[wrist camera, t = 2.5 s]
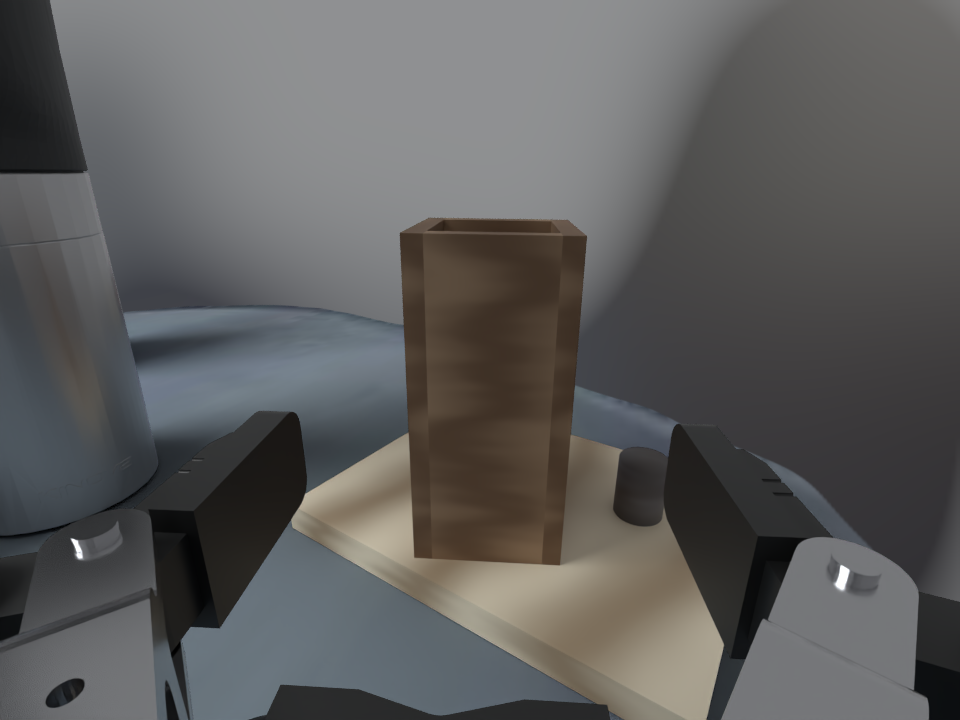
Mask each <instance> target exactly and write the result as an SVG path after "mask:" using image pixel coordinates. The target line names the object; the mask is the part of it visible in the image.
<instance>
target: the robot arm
mask: <svg viewBox="0 0 960 720" xmlns="http://www.w3.org/2000/svg"><path fill="white" fill-rule="evenodd" d="M87 170H88V169H87V165H86V161H85V157H84V153H83V149H82V146H81V141H80V138H79V133H78V128H77V124H76V120H75V115H74V111H73V106H72V102H71V98H70V93H69V89H68V85H67V80H66V76H65V72H64V67H63V63H62V59H61V55H60V50H59V45H58V40H57V35H56V30H55V25H54V20H53V15H52V10H51V5H50V0H0V535H16V534H23V533H31V532H36V531H41V530H45V529H49V528H54V527H58V526H61V525H64V524H67V523H70V522H74V521H76V522H74V523H71V524H70V525H68V526H66V527H64V528H62V529H61V530H59V531H58V532H56V533H55V534H54V535H52V536H51V537H50V538H49V539H48V540H47V541H46V542H45V543H44V544H43V545H42V546H41V548H40V549H39V551H38V552H35V553H29V554H22V555H16V556H10V557H4V558H0V720H194V717H193V710H192V702H191V694H190V687H189V679H188V671H187V664H186V656H185V650H184V647H183V643H182V638H183V636H184V635H185V634H186V632H187V631H188V630H189V628H190V627H205V628H220V627H221V626H222V624H223V622H224V621H225V619H226V618H227V616H228V615H229V613H230V612H231V610H232V609H233V607H234V606H235V604H236V603H237V601H238V600H239V598H240V597H241V595H242V594H243V592H244V591H245V589H246V587H247V586H248V584H249V583H250V581H251V580H252V578H253V577H254V575H255V574H256V572H257V571H258V569H259V568H260V566H261V565H262V563H263V562H264V560H265V559H266V557H267V556H268V554H269V553H270V551H271V549H272V548H273V546H274V545H275V543H276V542H277V540H278V539H279V537H280V536H281V534H282V533H283V531H284V530H285V528H286V527H287V525H288V524H289V522H290V521H291V519H292V518H293V516H294V514H295V513H296V511H297V510H298V508H299V507H300V505H301V504H302V501H303V499H304V496H305V492H306V485H307V474H306V466H305V458H304V451H303V443H302V435H301V428H300V421H299V418H298V416H297V414H296V413H294V412H277V411H258V412H256V413H255V414H254V415H253V416H251V417H250V418H249V419H248V420H247V421H246V422H245V423H244V424H243V425H241V426H240V427H239V428H238V429H237V430H236V431H235V432H232V433H230V434H228V435H226V436H224V437H222V438H220V439H218V440H216V441H214V442H212V443H210V444H208V445H207V446H206V447H205V448H203V449H202V450H201V451H200V452H199V453H198V454H196V455H195V456H194V457H193V458H192V461H188V462H187V463H186V464H185V465H184V466H182V467H181V468H180V469H179V472H178V473H174V474H173V475H172V476H171V477H170V478H168V479H167V480H166V481H165V482H164V483H163V484H161V485H160V486H159V487H158V488H157V489H156V490H155V491H153V492H152V493H151V494H150V495H149V496H148V497H146V498H145V499H144V500H143V501H142V502H141V503H139V504H138V505H137V506H136V507H135V508H134V509H115V510H109V511H105V512H101V513H97V512H100V511H102V510H104V509H106V508H108V507H110V506H112V505H114V504H116V503H118V502H120V501H122V500H123V499H125V498H126V497H128V496H130V495H131V494H133V493H134V492H136V491H137V490H138V489H139V488H141V487H142V486H143V485H144V484H145V483H147V482H148V481H149V479H150V478H151V477H152V476H153V474H154V473H155V472H156V469H157V467H158V456H157V452H156V448H155V444H154V440H153V436H152V432H151V427H150V423H149V419H148V415H147V411H146V407H145V401H144V397H143V393H142V389H141V385H140V381H139V377H138V373H137V369H136V364H135V360H134V356H133V352H132V348H131V344H130V340H129V336H128V332H127V328H126V324H125V319H124V315H123V311H122V307H121V303H120V299H119V295H118V291H117V287H116V283H115V279H114V275H113V271H112V267H111V262H110V258H109V254H108V250H107V246H106V242H105V238H104V234H103V232H102V227H101V223H100V219H99V215H98V211H97V206H96V203H95V198H94V194H93V190H92V186H91V182H90V178H89V174H88V173H84V172H83V171H87ZM664 509H665V514H666V518H667V521H668V523H669V525H670V527H671V529H672V532H673V534H674V536H675V538H676V540H677V543H678V545H679V547H680V549H681V551H682V554H683V556H684V558H685V560H686V562H687V564H688V567H689V569H690V571H691V573H692V575H693V578H694V580H695V582H696V584H697V586H698V589H699V591H700V593H701V595H702V597H703V600H704V602H705V604H706V606H707V608H708V611H709V613H710V615H711V617H712V619H713V621H714V624H715V626H716V628H717V630H718V632H719V635H720V637H721V639H722V641H723V643H724V646H725V648H726V650H727V652H728V654H729V657H730V658H732V659H746V660H745V662H744V665H743V667H742V670H741V672H740V674H739V677H738V679H737V682H736V684H735V687H734V689H733V692H732V694H731V696H730V699H729V701H728V704H727V706H726V709H725V711H724V714H723V716H722V718H721V720H960V602H957V601H954V600H950V599H946V598H942V597H937V596H933V595H929V594H925V593H922V592H918V589H917V588H916V585H915V583H914V582H913V580H912V579H911V577H910V576H909V575H908V574H906V572H905V571H904V570H902V569H901V568H900V567H899V566H898V565H896V564H895V563H893V562H892V561H890V560H889V559H888V558H886V557H884V556H883V555H881V554H879V553H877V552H875V551H873V550H871V549H869V548H866V547H864V546H861V545H859V544H856V543H852V542H849V541H845V540H841V539H836V538H833V537H832V536H831V535H830V533H829V532H828V531H827V530H826V529H825V528H824V527H823V526H822V525H821V523H820V522H819V521H818V520H817V519H816V518H815V517H814V516H813V515H812V513H811V512H810V511H809V510H808V509H807V508H806V507H805V506H804V505H803V503H802V502H801V501H800V500H799V499H798V498H797V497H794V496H793V492H792V491H791V490H790V489H789V488H788V487H787V486H786V485H785V483H781V479H780V478H779V477H778V476H777V475H776V474H775V472H774V471H773V470H772V469H771V468H770V467H769V466H768V465H767V464H766V463H765V462H763V461H762V460H760V459H758V458H757V457H755V456H753V455H752V454H750V453H748V452H747V451H745V450H744V449H736V448H735V447H734V446H733V445H732V444H731V442H730V441H729V440H728V439H727V438H726V437H725V435H724V434H723V433H722V432H721V430H720V429H719V428H718V427H717V426H715V425H697V424H694V425H693V424H677V425H676V426H675V427H674V429H673V432H672V436H671V443H670V450H669V457H668V464H667V471H666V478H665V485H664ZM95 513H97V514H95ZM92 514H94V515H92ZM90 515H91V516H90ZM87 516H88V517H87ZM77 520H78V521H77ZM249 720H610V717H609V711H608V706H607V705H604V704H588V703H572V702H555V701H539V700H520V701H515V702H510V703H505V704H500V705H495V706H490V707H485V708H480V709H475V710H470V711H465V712H460V713H455V714H450V715H443V716H438V715H432V714H428V713H425V712H422V711H419V710H416V709H414V708H411V707H408V706H405V705H402V704H399V703H396V702H393V701H390V700H388V699H385V698H382V697H379V696H376V695H373V694H370V693H367V692H365V691H362V690H359V689H342V688H326V687H310V686H293V685H280V687H279V690H278V692H277V694H276V696H275V698H274V700H273V703H272V705H271V707H270V709H269V711H268V713H267V715H264V716H259V717H256V718H252V719H249Z"/></svg>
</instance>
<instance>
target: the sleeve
mask: <svg viewBox="0 0 960 720" xmlns="http://www.w3.org/2000/svg"><path fill="white" fill-rule="evenodd" d="M586 241H587V236H586V235H585V234H584V233H583V232H581V231H580V230H579V229H577V227H575V226H574V225H573V224H572V223H571V222H570V221H568V220H538V219H536V220H535V219H473V218H471V219H469V218H428V219H426V220H424V221H422V222H420V223H418V224H416V225H414V226H412V227H410V228H409V229H406V230H405V231H403V232H401V233H400V248H401V271H402V294H403V316H404V339H405V362H406V384H407V407H408V429H409V452H410V474H411V497H412V519H413V542H414V558H426V559H445V560H464V561H483V562H502V563H521V564H540V565H559V566H560V560H561V548H562V535H563V523H564V511H565V499H566V486H567V474H568V462H569V450H570V437H571V425H572V413H573V401H574V389H575V376H576V364H577V352H578V340H579V339H578V338H579V327H580V315H581V303H582V291H583V278H584V266H585V253H586Z"/></svg>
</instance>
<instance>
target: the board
mask: <svg viewBox="0 0 960 720" xmlns="http://www.w3.org/2000/svg"><path fill="white" fill-rule="evenodd" d="M667 464H668V458H667V457H666V456H665V455H664V454H662V453H660V452H658V451H656V450H653V449H649V448H644V447H631V448H627V449H624V450H621V449H618V448H615V447H611V446H608V445H605V444H601V443H598V442H594V441H591V440H588V439H584V438H581V437H578V436H574V435H571V437H570V450H569V462H568V474H567V486H566V499H565V511H564V523H563V535H562V548H561V560H560V566H559V565H540V564H521V563H502V562H483V561H464V560H445V559H426V558H414V542H413V519H412V497H411V474H410V452H409V432H408V433H406V434H405V435H403V436H401V437H400V438H398V439H396V440H395V441H393V442H391V443H390V444H388V445H386V446H385V447H383V448H381V449H380V450H378V451H376V452H375V453H373V454H371V455H370V456H368V457H366V458H365V459H363V460H361V461H360V462H358V463H356V464H355V465H353V466H351V467H350V468H348V469H346V470H345V471H343V472H341V473H340V474H338V475H336V476H335V477H333V478H331V479H330V480H328V481H326V482H325V483H323V484H321V485H319V486H318V487H316V488H314V489H313V490H311V491H309V492H308V493H306V494H305V496H304V499H303V501H302V504H301V505H300V507H299V508H298V510H297V511H296V513H295V514H294V516H293V518H292V519H291V520H292V527H293V528H294V529H296V530H297V531H299V532H301V533H303V534H304V535H306V536H308V537H309V538H311V539H313V540H315V541H316V542H318V543H320V544H322V545H323V546H325V547H327V548H328V549H330V550H332V551H334V552H335V553H337V554H339V555H341V556H342V557H344V558H346V559H347V560H349V561H351V562H353V563H354V564H356V565H358V566H360V567H361V568H363V569H365V570H366V571H368V572H370V573H372V574H373V575H375V576H377V577H379V578H380V579H382V580H384V581H385V582H387V583H389V584H391V585H392V586H394V587H396V588H398V589H399V590H401V591H403V592H404V593H406V594H408V595H410V596H411V597H413V598H415V599H417V600H418V601H420V602H422V603H423V604H425V605H427V606H429V607H430V608H432V609H434V610H436V611H437V612H439V613H441V614H442V615H444V616H446V617H448V618H449V619H451V620H453V621H455V622H456V623H458V624H460V625H461V626H463V627H465V628H467V629H468V630H470V631H472V632H474V633H475V634H477V635H479V636H480V637H482V638H484V639H486V640H487V641H489V642H491V643H493V644H494V645H496V646H498V647H499V648H501V649H503V650H505V651H506V652H508V653H510V654H512V655H513V656H515V657H517V658H518V659H520V660H522V661H524V662H525V663H527V664H529V665H531V666H532V667H534V668H536V669H537V670H539V671H541V672H543V673H544V674H546V675H548V676H550V677H551V678H553V679H555V680H556V681H558V682H560V683H562V684H563V685H565V686H567V687H569V688H570V689H572V690H574V691H576V692H577V693H579V694H581V695H582V696H584V697H586V698H588V699H589V700H591V701H593V702H595V703H596V704H604V705H607V706H608V711H610V712H612V713H614V714H615V715H617V716H619V717H620V718H622V719H624V720H706V719H707V715H708V711H709V706H710V702H711V698H712V694H713V690H714V685H715V681H716V677H717V673H718V668H719V664H720V660H721V656H722V652H723V647H724V643H723V641H722V639H721V637H720V635H719V632H718V630H717V628H716V626H715V624H714V621H713V619H712V617H711V615H710V613H709V611H708V608H707V606H706V604H705V602H704V600H703V597H702V595H701V593H700V591H699V589H698V586H697V584H696V582H695V580H694V578H693V575H692V573H691V571H690V569H689V567H688V564H687V562H686V560H685V558H684V556H683V554H682V551H681V549H680V547H679V545H678V543H677V540H676V538H675V536H674V534H673V532H672V529H671V527H670V525H669V523H668V521H667V518H666V514H665V509H664V485H665V478H666V471H667Z"/></svg>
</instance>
